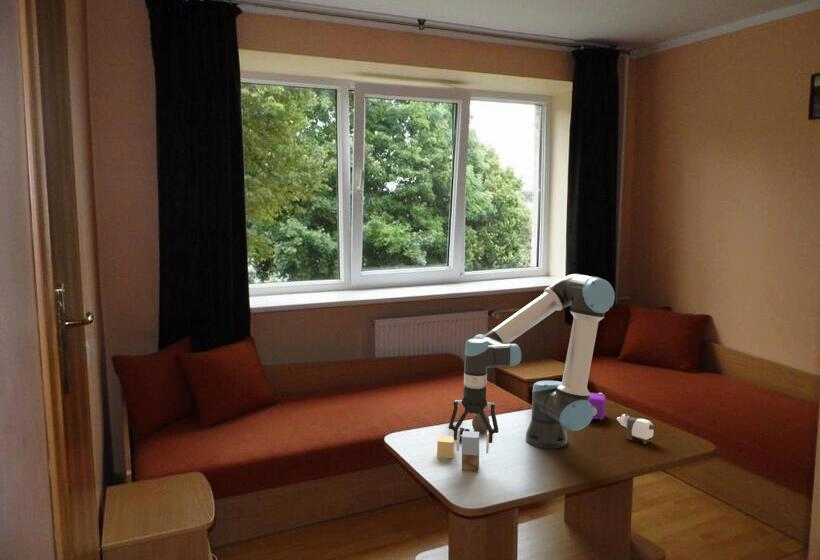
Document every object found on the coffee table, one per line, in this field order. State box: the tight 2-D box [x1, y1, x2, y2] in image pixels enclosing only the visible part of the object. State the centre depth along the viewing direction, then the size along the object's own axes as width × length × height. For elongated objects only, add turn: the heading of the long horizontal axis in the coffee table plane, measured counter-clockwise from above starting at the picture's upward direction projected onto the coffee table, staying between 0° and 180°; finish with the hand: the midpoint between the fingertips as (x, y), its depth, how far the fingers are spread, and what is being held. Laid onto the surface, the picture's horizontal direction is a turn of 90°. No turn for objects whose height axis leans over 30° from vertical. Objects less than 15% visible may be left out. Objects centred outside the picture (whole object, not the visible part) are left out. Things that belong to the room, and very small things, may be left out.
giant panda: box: [616, 412, 655, 442], centre depth 237 cm, size 15×6×10 cm, turn 43°
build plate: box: [454, 427, 471, 443], centre depth 233 cm, size 12×7×5 cm, turn 63°
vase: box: [471, 408, 491, 434], centre depth 242 cm, size 7×7×9 cm
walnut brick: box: [461, 453, 480, 473], centre depth 208 cm, size 6×6×6 cm
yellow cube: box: [436, 435, 456, 459], centre depth 218 cm, size 6×6×6 cm
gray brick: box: [461, 430, 480, 455], centre depth 207 cm, size 6×6×6 cm
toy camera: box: [589, 392, 607, 420], centre depth 260 cm, size 11×14×10 cm
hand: (472, 450), depth 207 cm, fingers open, 9 cm apart
